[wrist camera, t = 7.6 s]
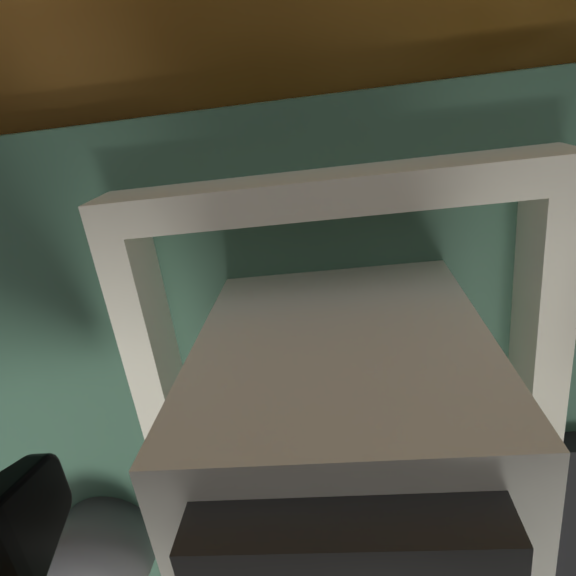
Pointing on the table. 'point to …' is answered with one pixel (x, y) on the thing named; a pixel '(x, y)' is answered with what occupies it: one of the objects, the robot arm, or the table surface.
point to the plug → (350, 437)
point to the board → (268, 257)
